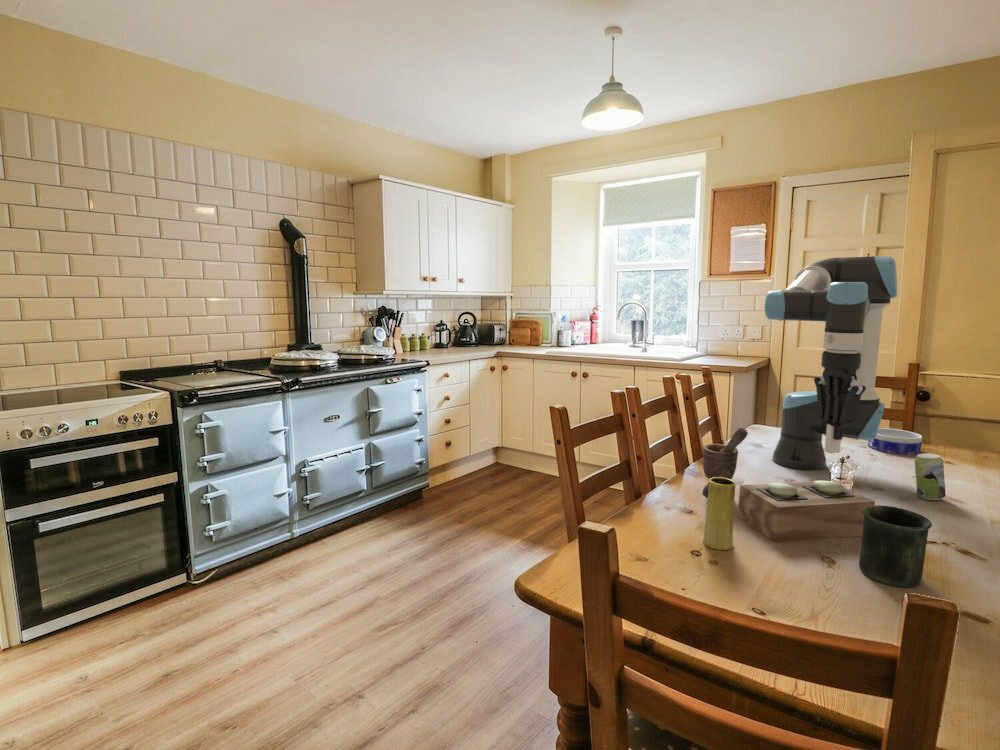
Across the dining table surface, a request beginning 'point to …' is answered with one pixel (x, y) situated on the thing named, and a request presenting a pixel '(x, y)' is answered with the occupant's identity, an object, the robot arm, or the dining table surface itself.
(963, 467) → the dining table surface
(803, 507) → the socket block
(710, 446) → the mortar and pestle
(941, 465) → the beverage can
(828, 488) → the peg
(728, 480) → the vase
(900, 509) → the mug
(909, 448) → the dog bowl
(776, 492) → the peg
